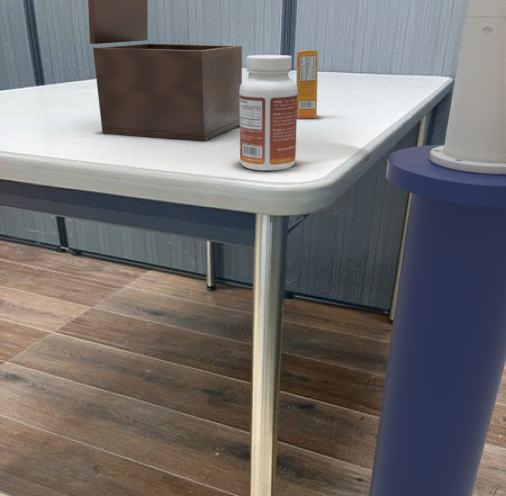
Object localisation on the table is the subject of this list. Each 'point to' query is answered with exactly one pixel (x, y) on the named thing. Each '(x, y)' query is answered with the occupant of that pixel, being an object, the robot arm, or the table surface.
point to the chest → (169, 89)
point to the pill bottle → (268, 114)
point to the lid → (118, 21)
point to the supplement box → (307, 83)
